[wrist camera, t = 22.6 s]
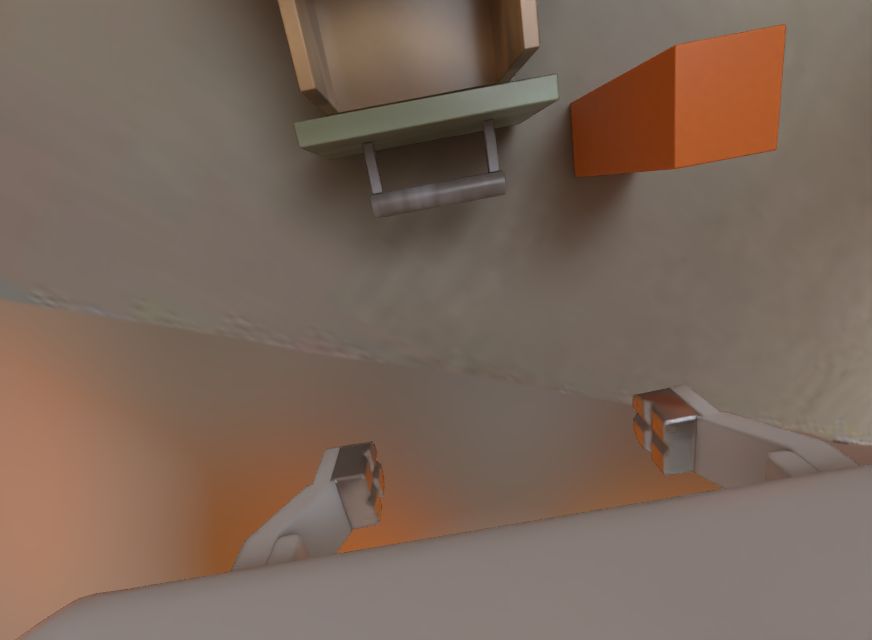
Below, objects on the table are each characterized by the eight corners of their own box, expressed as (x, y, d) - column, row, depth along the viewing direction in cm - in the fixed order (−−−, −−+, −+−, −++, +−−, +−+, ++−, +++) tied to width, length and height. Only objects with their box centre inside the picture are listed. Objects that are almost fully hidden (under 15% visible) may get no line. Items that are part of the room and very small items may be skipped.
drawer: (527, 187, 29) (566, 185, 22) (344, 221, 29) (320, 231, 22) (493, -149, 24) (529, -305, 16) (265, -106, 24) (197, -242, 16)
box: (637, 90, 29) (787, 23, 17) (638, 165, 30) (777, 149, 19) (569, 103, 29) (675, 44, 17) (575, 177, 30) (674, 169, 19)
